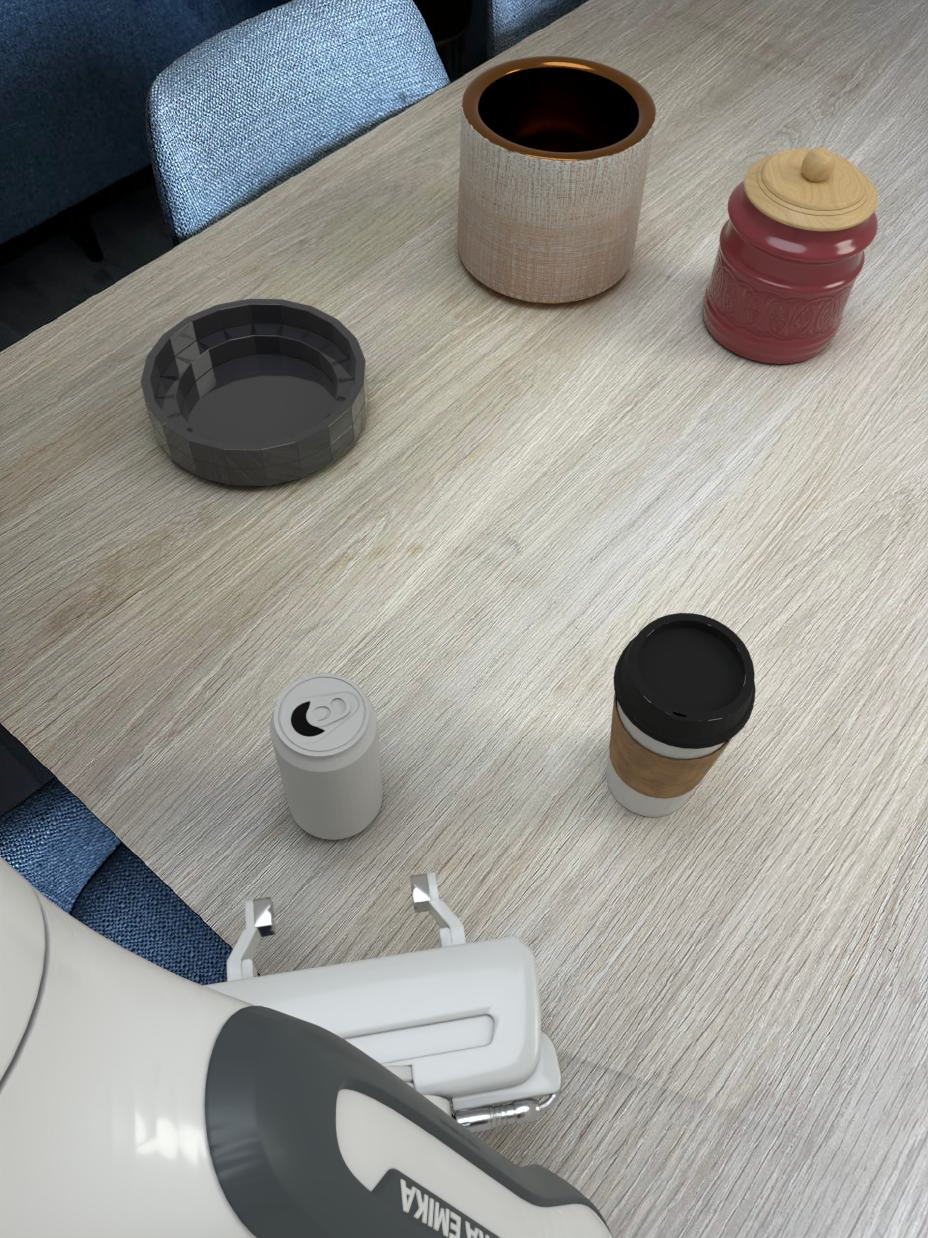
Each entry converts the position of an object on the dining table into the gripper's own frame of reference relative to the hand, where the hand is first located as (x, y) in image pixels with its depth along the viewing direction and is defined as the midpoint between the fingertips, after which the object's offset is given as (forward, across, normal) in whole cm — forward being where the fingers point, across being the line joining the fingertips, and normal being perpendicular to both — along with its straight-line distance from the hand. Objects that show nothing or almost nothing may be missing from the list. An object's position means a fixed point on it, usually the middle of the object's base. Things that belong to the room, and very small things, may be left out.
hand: (341, 888), depth 60 cm
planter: (+66, -27, +7) cm, 71 cm away
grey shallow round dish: (+47, +3, +7) cm, 48 cm away
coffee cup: (+7, -22, +7) cm, 24 cm away
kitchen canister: (+52, -46, +7) cm, 70 cm away
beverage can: (+9, 0, +7) cm, 11 cm away
